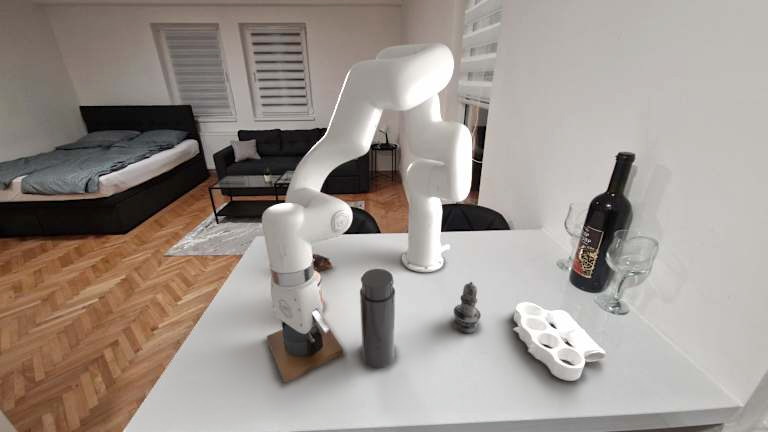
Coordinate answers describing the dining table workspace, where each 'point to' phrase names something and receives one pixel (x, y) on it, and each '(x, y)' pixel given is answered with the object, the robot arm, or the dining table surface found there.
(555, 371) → the white brass knuckles
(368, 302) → the thermos
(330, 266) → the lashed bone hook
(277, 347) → the coaster
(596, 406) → the dining table surface
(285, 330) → the thermos lid
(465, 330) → the dark stone figurine
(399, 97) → the robot arm
